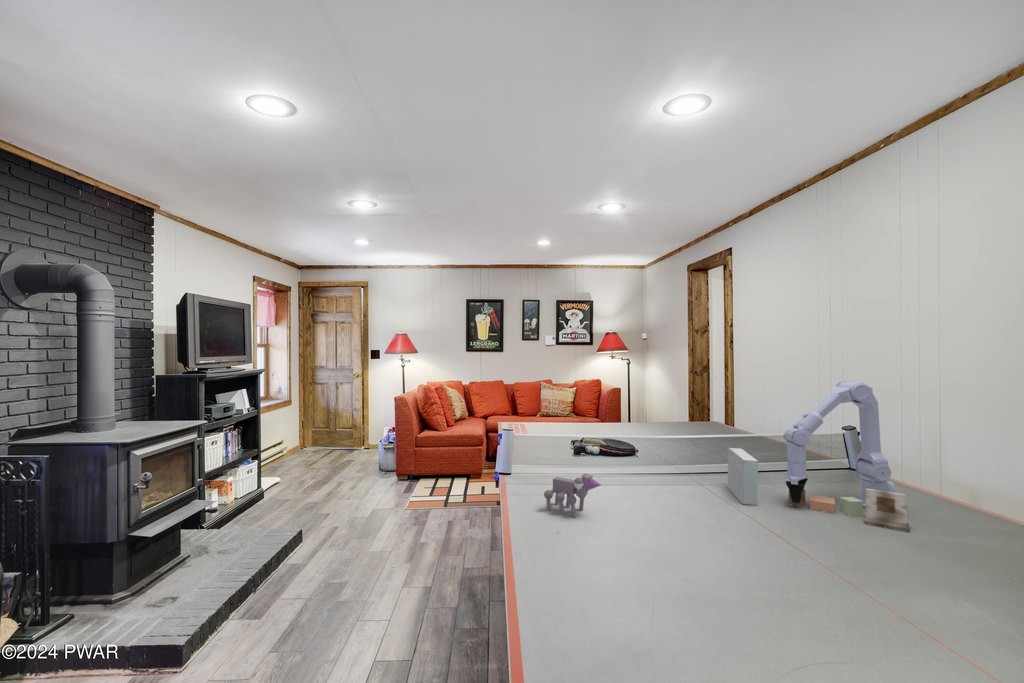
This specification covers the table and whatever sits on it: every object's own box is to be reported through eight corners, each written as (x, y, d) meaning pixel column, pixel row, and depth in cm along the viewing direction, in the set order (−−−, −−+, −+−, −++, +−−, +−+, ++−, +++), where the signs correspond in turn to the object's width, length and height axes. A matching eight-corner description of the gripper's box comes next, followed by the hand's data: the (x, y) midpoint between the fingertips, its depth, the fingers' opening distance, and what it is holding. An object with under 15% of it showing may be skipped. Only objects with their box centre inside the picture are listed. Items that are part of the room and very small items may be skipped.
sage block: (852, 511, 156) (852, 496, 156) (863, 516, 151) (863, 501, 152) (839, 511, 156) (839, 497, 156) (850, 516, 151) (849, 501, 151)
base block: (810, 504, 164) (810, 494, 164) (834, 508, 160) (834, 498, 160) (809, 510, 158) (809, 500, 158) (834, 514, 154) (834, 504, 154)
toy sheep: (608, 513, 155) (607, 473, 154) (594, 525, 146) (593, 483, 146) (557, 502, 167) (556, 465, 166) (541, 512, 158) (540, 473, 158)
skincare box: (759, 505, 162) (758, 460, 162) (742, 504, 163) (741, 460, 163) (741, 487, 183) (741, 447, 183) (727, 486, 184) (726, 447, 184)
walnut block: (790, 501, 166) (790, 487, 166) (805, 503, 164) (805, 489, 164) (788, 504, 163) (788, 490, 163) (803, 507, 160) (803, 493, 160)
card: (908, 526, 143) (908, 493, 143) (909, 532, 138) (909, 499, 138) (864, 518, 150) (863, 487, 150) (863, 523, 145) (863, 491, 145)
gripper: (786, 456, 172) (786, 492, 171) (780, 464, 160) (781, 503, 160) (809, 458, 167) (809, 496, 167) (804, 467, 156) (805, 507, 156)
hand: (797, 500), depth 163 cm, fingers open, 6 cm apart
